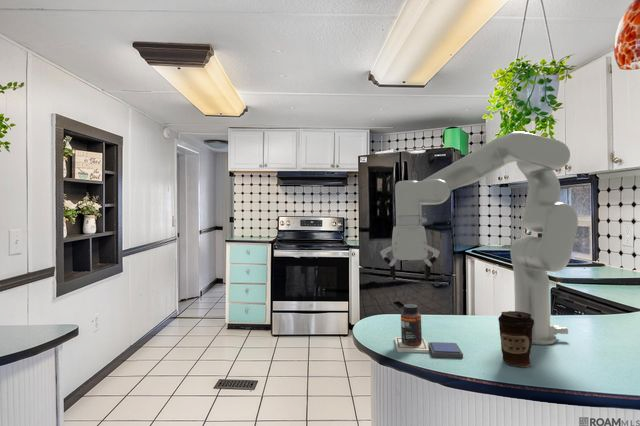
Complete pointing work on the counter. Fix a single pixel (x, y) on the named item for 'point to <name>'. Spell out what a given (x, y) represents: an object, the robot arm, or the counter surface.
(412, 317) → the supplement bottle
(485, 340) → the counter surface
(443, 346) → the ink pad
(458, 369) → the counter surface
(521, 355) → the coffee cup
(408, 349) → the board
